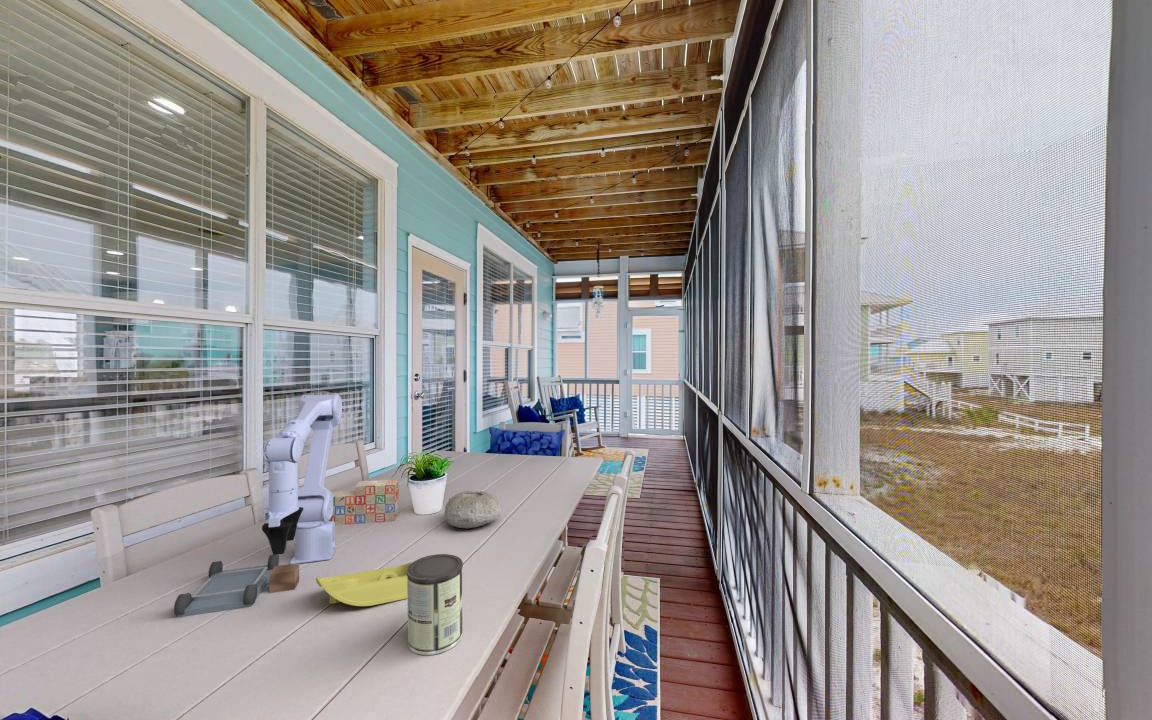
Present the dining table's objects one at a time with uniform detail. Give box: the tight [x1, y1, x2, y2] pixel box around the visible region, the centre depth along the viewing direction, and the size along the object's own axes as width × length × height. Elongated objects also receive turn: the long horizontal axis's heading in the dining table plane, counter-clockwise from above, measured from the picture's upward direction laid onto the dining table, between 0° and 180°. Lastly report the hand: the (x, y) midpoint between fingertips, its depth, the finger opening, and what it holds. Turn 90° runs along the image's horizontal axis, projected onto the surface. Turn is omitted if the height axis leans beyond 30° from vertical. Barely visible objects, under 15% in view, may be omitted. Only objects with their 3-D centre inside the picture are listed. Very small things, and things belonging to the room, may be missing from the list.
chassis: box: [173, 554, 280, 618], centre depth 104 cm, size 13×20×4 cm
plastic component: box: [315, 561, 414, 607], centre depth 101 cm, size 20×7×10 cm
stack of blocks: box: [328, 479, 400, 526], centre depth 148 cm, size 21×6×12 cm, turn 101°
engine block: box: [268, 563, 300, 594], centre depth 105 cm, size 5×4×4 cm
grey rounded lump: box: [443, 490, 502, 529], centre depth 145 cm, size 18×18×10 cm
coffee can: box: [407, 553, 464, 656], centre depth 86 cm, size 10×10×14 cm
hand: (283, 546), depth 105 cm, fingers open, 7 cm apart
